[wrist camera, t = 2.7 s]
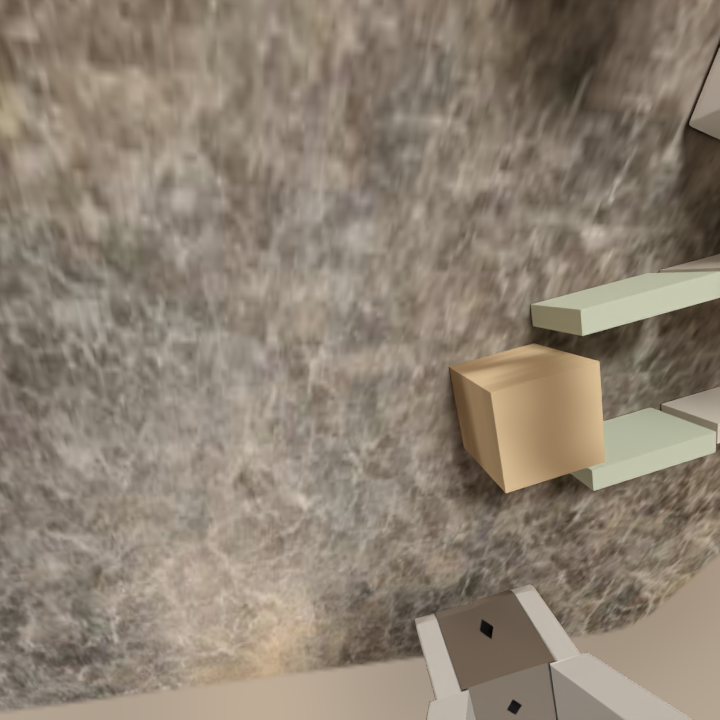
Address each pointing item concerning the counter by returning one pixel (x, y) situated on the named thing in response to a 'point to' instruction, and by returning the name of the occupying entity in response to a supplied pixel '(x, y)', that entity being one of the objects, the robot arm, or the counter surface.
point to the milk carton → (709, 103)
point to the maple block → (530, 414)
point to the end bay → (707, 407)
